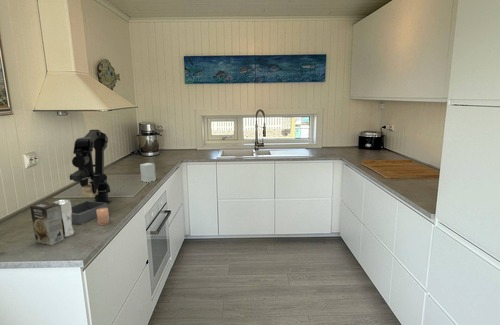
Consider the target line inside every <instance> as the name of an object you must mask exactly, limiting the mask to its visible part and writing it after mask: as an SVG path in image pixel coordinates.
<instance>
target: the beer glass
mask: <svg viewBox="0 0 500 325" xmlns="http://www.w3.org/2000/svg"><path fill="white" fill-rule="evenodd" d="M52 203H57V204H59V207H60V214H61V222H62V229H63V237H64V238H67V237H71V236H72V235H74V234H75V231H74V228H73V224H72V206H73V205H72V202H71V200H70V199H60V200H56V201H53V202H52Z"/></svg>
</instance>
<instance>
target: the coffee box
mask: <svg viewBox="0 0 500 325" xmlns="http://www.w3.org/2000/svg"><path fill="white" fill-rule="evenodd" d="M29 207H30V215H31V221H32V226H33V232H34V239H35V242H36V243H38V244H42V245H48V246H53V245H54V244H55V245H56V244H58V243H60V242H62V241H63V240H64V239H65V237H63V229H62V222H61V214H60V207H59V204H57V203H53V202H51V201H50V202H48V201H41V202H38V203H34V204H32V205H29Z"/></svg>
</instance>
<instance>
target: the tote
mask: <svg viewBox="0 0 500 325" xmlns="http://www.w3.org/2000/svg"><path fill="white" fill-rule="evenodd" d="M71 206H72V225H79V226H80V225H83V224H86V223H88V222H90V221H92V220H94V219H97V212H96V210H97V209H99V208H108V209H109V206H108V203H103V202H95V201H94V200H93V201H91V200H84V201H82V202H79V203H77V204H75V205H71Z"/></svg>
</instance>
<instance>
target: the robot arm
mask: <svg viewBox="0 0 500 325" xmlns="http://www.w3.org/2000/svg"><path fill="white" fill-rule="evenodd" d="M108 143H109V137H108V135H107V133H104V132H102V131H101V130H100V129H89V131H88V133H87V134H86V135H84V137H83V136H82V137H78V138H77V139H75V141H74V144H73V145H74V146H73V152H72V154H75V156H74V157H73V158H72V159H71V163H72V165H73V167H75V168H77V170H76V171H74V172H73V173H70V175H69V180H70V181H73V182H76V183H78V184H79V185H80V186H81V188H82V187H83V186H86V185H89V184H92V190H93V194H95V193H96V191H97V189H98V194H97V195H95V196H94V200H95V201H94V202H103V203H107V204H108V203H111V199H109V193H111V186H110V185H109V182H108V175H107V174H105V150H106V149H107V147H108ZM93 151H94V160H93V154H92V153H93ZM93 161H94V162H93ZM89 180H90V181H89Z"/></svg>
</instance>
